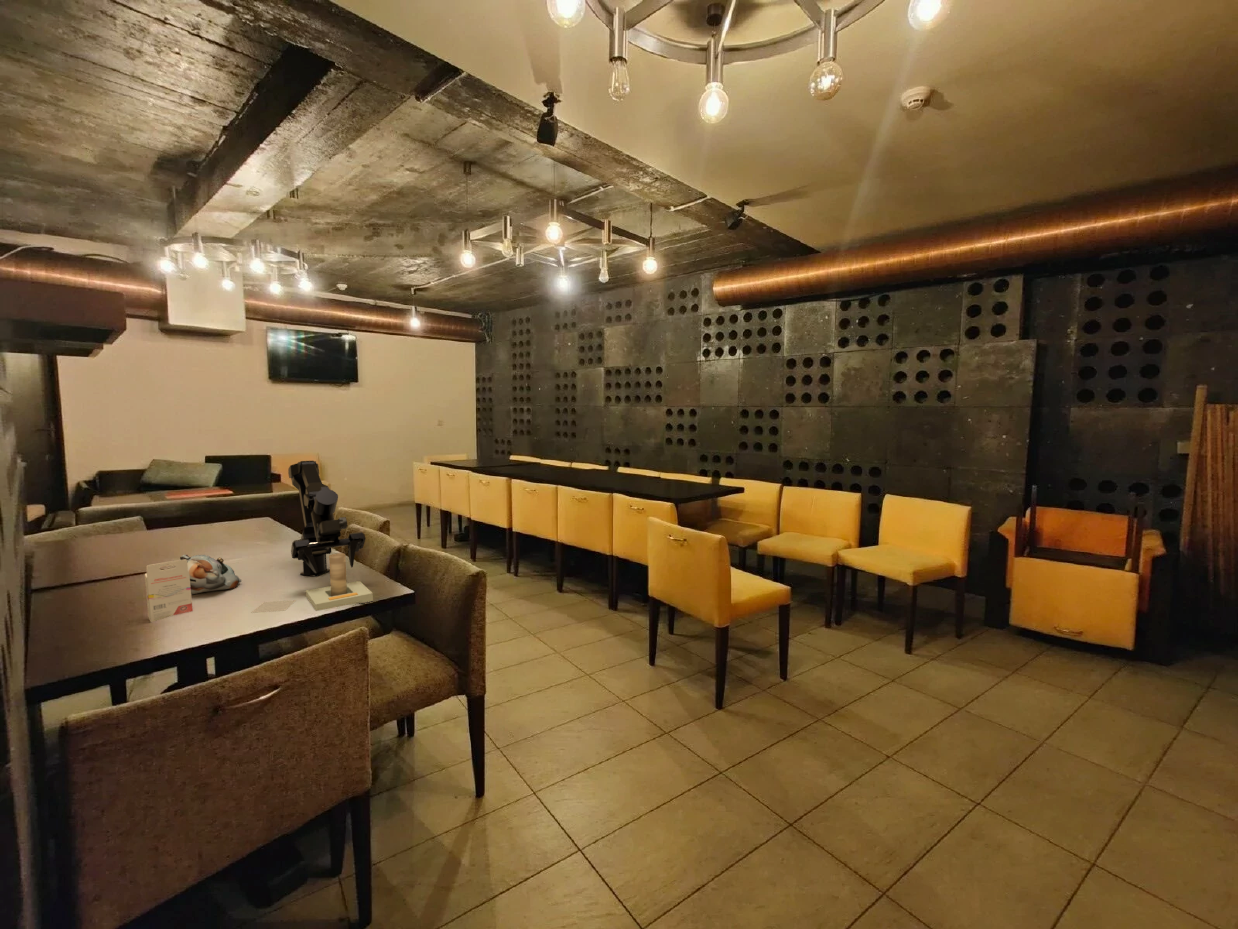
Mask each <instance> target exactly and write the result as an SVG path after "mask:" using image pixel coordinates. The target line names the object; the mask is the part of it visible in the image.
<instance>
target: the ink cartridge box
mask: <svg viewBox="0 0 1238 929" xmlns="http://www.w3.org/2000/svg"><path fill="white" fill-rule="evenodd" d="M167 566H169V567H171V568H165V567H167ZM173 566H174V567H173ZM145 568H146V573H144V584H145V596H146V605H147V607H146V608H147V617H148V618H147V619H148V620H149V622H150V623H154V622H157V621H160V620H162V619H165V618H168V617H171V616H177V615H181V614H185V613H189V612H193V611H194V610H193V601H192V600H193V599H192V598H193V597H192V594H191V587H190V576H189V570H188V565H187V560H186V559H183V560H180V559H178V560H171V561H164V562H159V563H158V562H157V563H153V564H148V565H146V566H145ZM161 568H165V569H161Z"/></svg>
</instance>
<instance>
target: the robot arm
mask: <svg viewBox="0 0 1238 929" xmlns="http://www.w3.org/2000/svg"><path fill="white" fill-rule="evenodd" d="M319 468H320V467H319V463H317V461H316V460H301V461H298V462H297V463H294V464H291V465H289V466H288V471H287V472H288V477H289V478H288V479H290V480H291V484H292V486H293V487H294V488H295V489H296V490H298V492H299V500H300V505H301V512H302V517H303V518H302V519H303V523H304V529H303V530H302V534H301V536H300V539H295V540H293V541H291V542H292V543H291V546H290V547H291V549H290V553H291V555H290V556H291V559H294V560H295V559H297V560H298V561H302V572H300V574H299V575H300V576H308V575H318V576H320V575H321V576H322V575H324V574H326V573H328V572H329V573H330V568H327V567H328V565H327V562H328V561H327V555H331V553H332V548H337V547H339V548H340V547H346V546H347V549H348V550H347V556H348V562H349V566H350V568H353V567H354V561H355V556H356V553H357V552H359V551H360V550H362V549H363V548H364V545H365V542H366V534H365V533H364V532H362V531H359V532H349V535H348V537H347V538H340V537H341V536H342V534H341V531H342V530H345V529H347V528H348V521H347V518H346V516H345V517H338V519H336V518H335V515H334V513H335V512H336V509H337V504H338V499H339V495H338V493H337V492H336V491H334V490H332V489H330V487H329V486H328V485H326V484H323V482H322V480H321V479H322V478H321V477H320V469H319ZM325 572H326V573H325ZM323 573H324V574H323Z"/></svg>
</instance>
